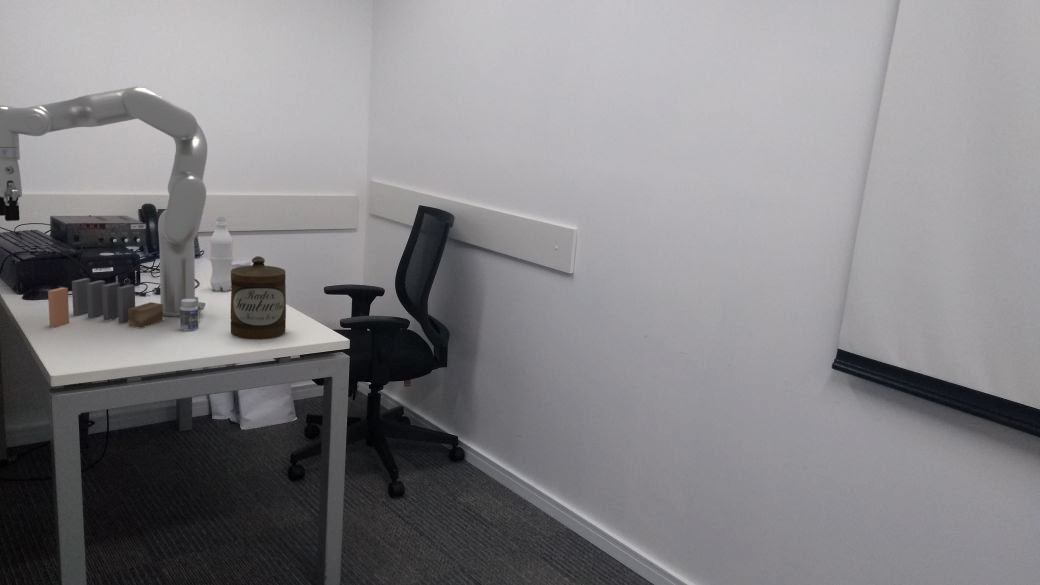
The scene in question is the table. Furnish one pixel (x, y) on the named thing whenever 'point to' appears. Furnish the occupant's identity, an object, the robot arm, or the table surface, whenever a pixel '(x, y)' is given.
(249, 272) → the wooden container
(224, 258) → the water bottle
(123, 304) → the domino
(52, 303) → the domino
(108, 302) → the domino
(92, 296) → the domino
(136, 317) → the brown wooden block
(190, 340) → the table surface
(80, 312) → the domino
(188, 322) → the pill bottle
